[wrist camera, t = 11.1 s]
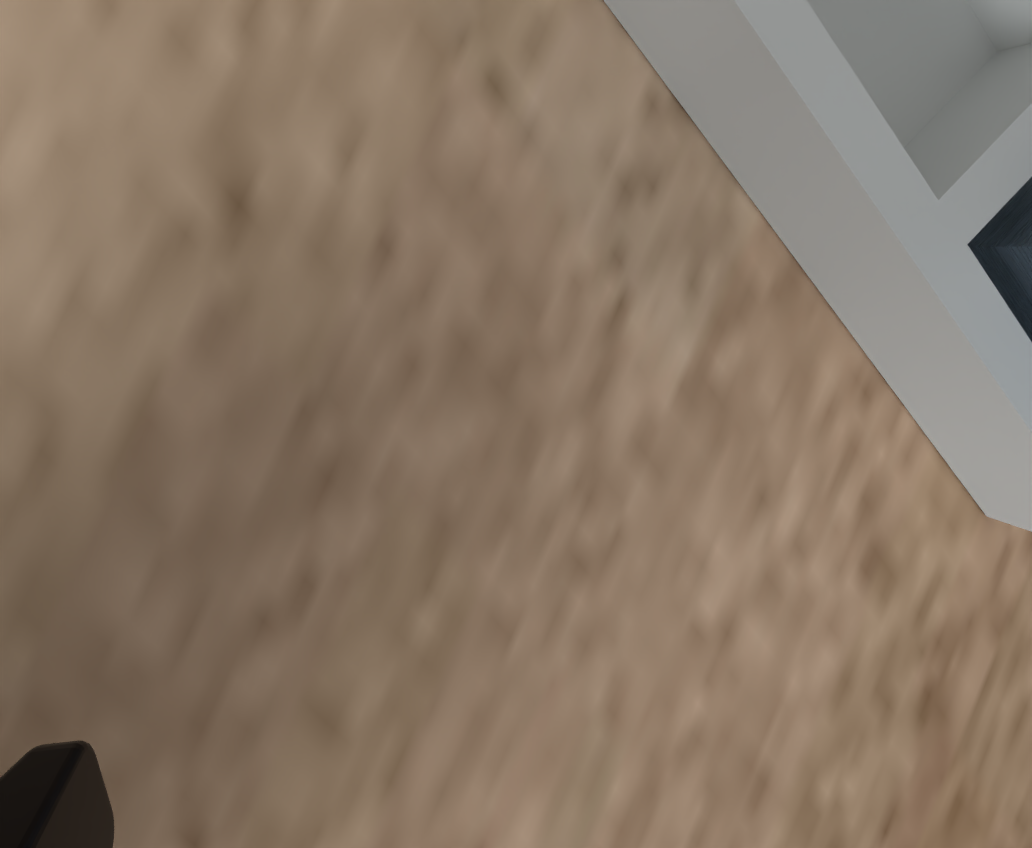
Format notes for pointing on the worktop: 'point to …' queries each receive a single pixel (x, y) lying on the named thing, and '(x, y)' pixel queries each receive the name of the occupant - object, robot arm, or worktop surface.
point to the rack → (882, 186)
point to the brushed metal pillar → (1010, 254)
